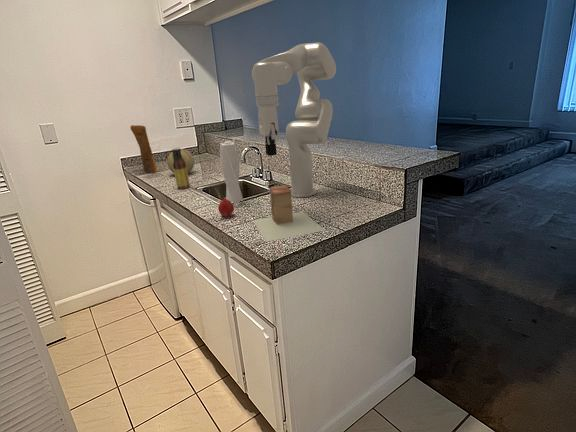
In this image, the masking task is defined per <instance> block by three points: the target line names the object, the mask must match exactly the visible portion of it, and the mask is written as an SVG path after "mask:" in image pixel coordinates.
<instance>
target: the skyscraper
mask: <svg viewBox="0 0 576 432" xmlns="http://www.w3.org/2000/svg"><path fill="white" fill-rule="evenodd" d="M219 146H220V147H219V148H220V149H219V153H220V155H219V156H220V157H219V158H220V168H221V172H222V175H223V179H224V183H225V185H226V187H225V188H226V191H225V194H226V196H225V198H226V199H227V200H229V201H230V202H233V203H234V204H235V205H236V204H238V203H239V202H240V201H243V200H244V199H243V198H244V197H243V195H242V191H241V188H240V184H239V180H240V168H241V167H240V158H239V154H238V149H237V146H236V139H235V137H232V141H231V140H227V141H224V142H223V143H222V142H220V143H219ZM235 205H234V206H235ZM238 205H239V204H238Z"/></svg>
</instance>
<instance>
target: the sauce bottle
mask: <svg viewBox="0 0 576 432" xmlns="http://www.w3.org/2000/svg"><path fill="white" fill-rule="evenodd" d="M181 149H182V148H180V147H176V148H172V149H171V152H173V156H174V162H173V169H174V178H175V183H176V186H177V188H178V189H179V190H185V189H188V188H190V178H189V172H188V173H187V168H186V164H185V161H184V159H183V158H182V156H181Z"/></svg>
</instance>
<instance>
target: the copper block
mask: <svg viewBox="0 0 576 432" xmlns="http://www.w3.org/2000/svg"><path fill="white" fill-rule="evenodd" d="M291 189H292V188H290V187H288V186H287V185H285V184H284V185H279V186H273V187H269V194H270V195H269V196H270V208H271V217H272V219H273V221H274V222H275V223H276V224H277V225H278V224H284V223H289V222H293V215H292V213H293V204H292V202H293V201H292V196H291Z"/></svg>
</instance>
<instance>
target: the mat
mask: <svg viewBox="0 0 576 432" xmlns="http://www.w3.org/2000/svg"><path fill="white" fill-rule="evenodd" d="M292 215H293V222H289V223H284V224H278V225H277V224H276V223H275V222H274V221H273V219H272V216H269V217H264V218H259V219H254V220H252V222H253V223H254V225H255V227H256V228H257V230H258V231H259V233H260V234H261V236H262V237H263V239H264V241H265V243H267V242H272V241H279V240H282V239H283V240H284V239H288V238H294V237H299V236H303V235H304V236H305V235H309V234H310V235H311V234H315V233H319V232H325V230H324V228H322V227H321V226H320V225H319V224H318V223H317V222H316V221H315V220H314V219H312V218H311V217H310V216H309V214H307V213H306V212H305V211H299V212H298V211H297V212H292Z"/></svg>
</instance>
